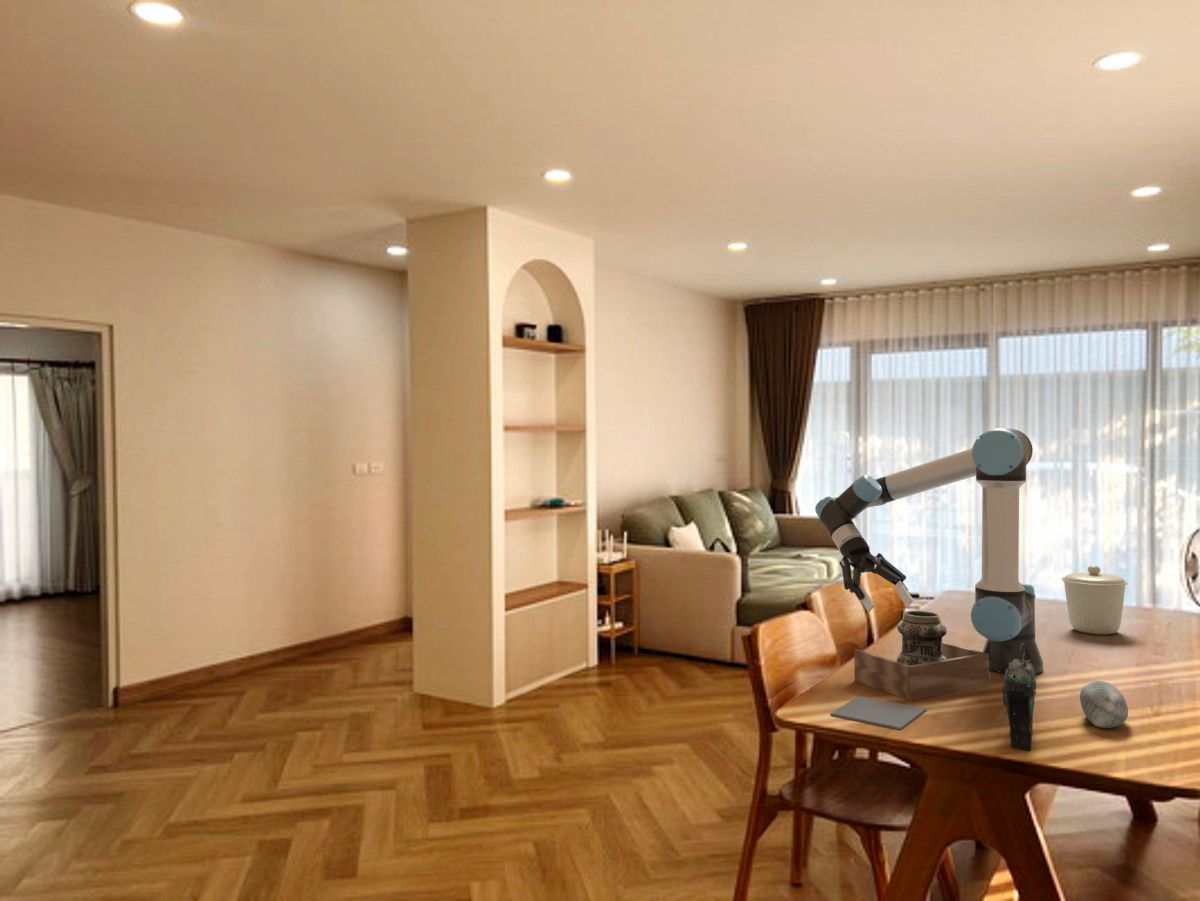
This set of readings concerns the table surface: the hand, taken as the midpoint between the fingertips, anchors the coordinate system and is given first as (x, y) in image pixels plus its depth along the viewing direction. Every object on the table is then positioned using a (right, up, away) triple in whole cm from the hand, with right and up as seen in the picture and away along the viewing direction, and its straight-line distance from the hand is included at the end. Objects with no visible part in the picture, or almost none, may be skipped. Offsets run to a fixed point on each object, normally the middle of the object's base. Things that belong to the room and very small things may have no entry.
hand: (891, 606), depth 221 cm
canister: (+80, -16, +44) cm, 93 cm away
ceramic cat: (+10, -18, -48) cm, 52 cm away
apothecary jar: (+5, -18, -9) cm, 21 cm away
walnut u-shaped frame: (+5, -18, -9) cm, 21 cm away
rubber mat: (-14, -19, -31) cm, 39 cm away
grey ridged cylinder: (+32, -18, -40) cm, 54 cm away
